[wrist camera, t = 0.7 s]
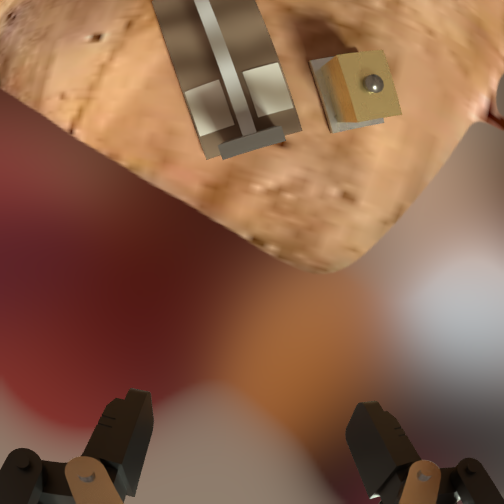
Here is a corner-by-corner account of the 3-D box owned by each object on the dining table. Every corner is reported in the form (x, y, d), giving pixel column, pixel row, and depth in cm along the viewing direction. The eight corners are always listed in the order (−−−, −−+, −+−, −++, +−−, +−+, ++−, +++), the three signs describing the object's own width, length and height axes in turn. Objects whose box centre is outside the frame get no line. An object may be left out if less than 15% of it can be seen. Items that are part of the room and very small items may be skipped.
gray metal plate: (308, 62, 24) (310, 60, 23) (360, 54, 23) (363, 52, 23) (330, 133, 27) (332, 133, 27) (380, 122, 27) (384, 122, 26)
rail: (154, 4, 21) (127, -24, 14) (241, -25, 19) (238, -62, 12) (208, 158, 29) (192, 170, 22) (300, 130, 27) (317, 132, 20)
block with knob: (320, 67, 24) (339, 53, 17) (359, 61, 23) (386, 48, 17) (337, 122, 26) (361, 122, 20) (375, 114, 25) (406, 114, 19)
